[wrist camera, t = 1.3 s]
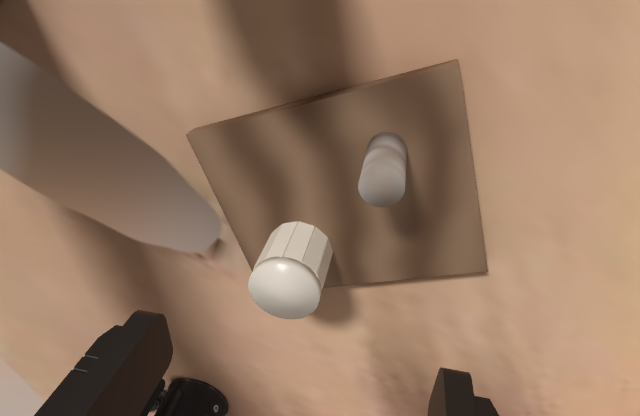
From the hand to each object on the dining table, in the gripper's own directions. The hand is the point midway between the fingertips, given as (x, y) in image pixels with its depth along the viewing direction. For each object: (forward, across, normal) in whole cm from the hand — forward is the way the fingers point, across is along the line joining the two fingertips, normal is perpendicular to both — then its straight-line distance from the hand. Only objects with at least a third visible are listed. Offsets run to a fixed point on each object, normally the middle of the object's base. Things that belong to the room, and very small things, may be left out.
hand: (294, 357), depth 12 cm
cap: (+22, +5, +14) cm, 26 cm away
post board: (+23, +2, +8) cm, 25 cm away
